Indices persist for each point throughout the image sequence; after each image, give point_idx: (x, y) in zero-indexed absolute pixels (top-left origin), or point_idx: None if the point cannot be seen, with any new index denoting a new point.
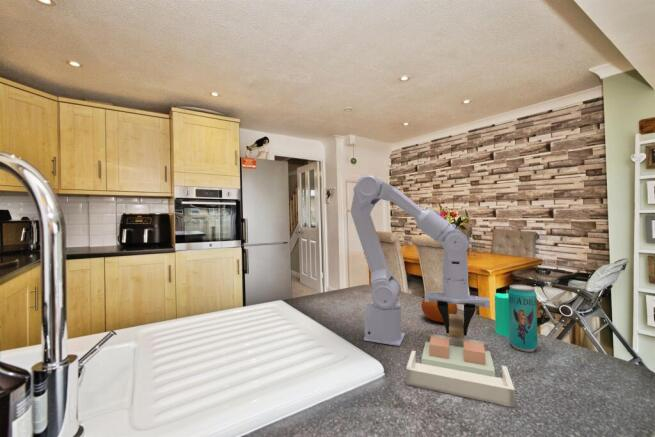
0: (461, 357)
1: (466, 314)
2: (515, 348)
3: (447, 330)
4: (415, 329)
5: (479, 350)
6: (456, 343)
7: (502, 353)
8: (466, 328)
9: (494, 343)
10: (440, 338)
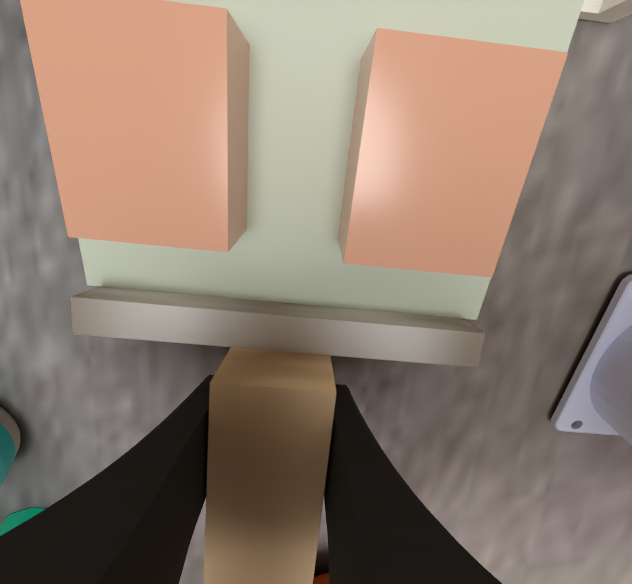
0: (265, 122)
1: (92, 543)
2: (3, 409)
3: (342, 395)
4: (470, 491)
5: (80, 47)
6: (285, 308)
7: (57, 343)
8: (184, 408)
9: (101, 437)
10: (420, 245)
